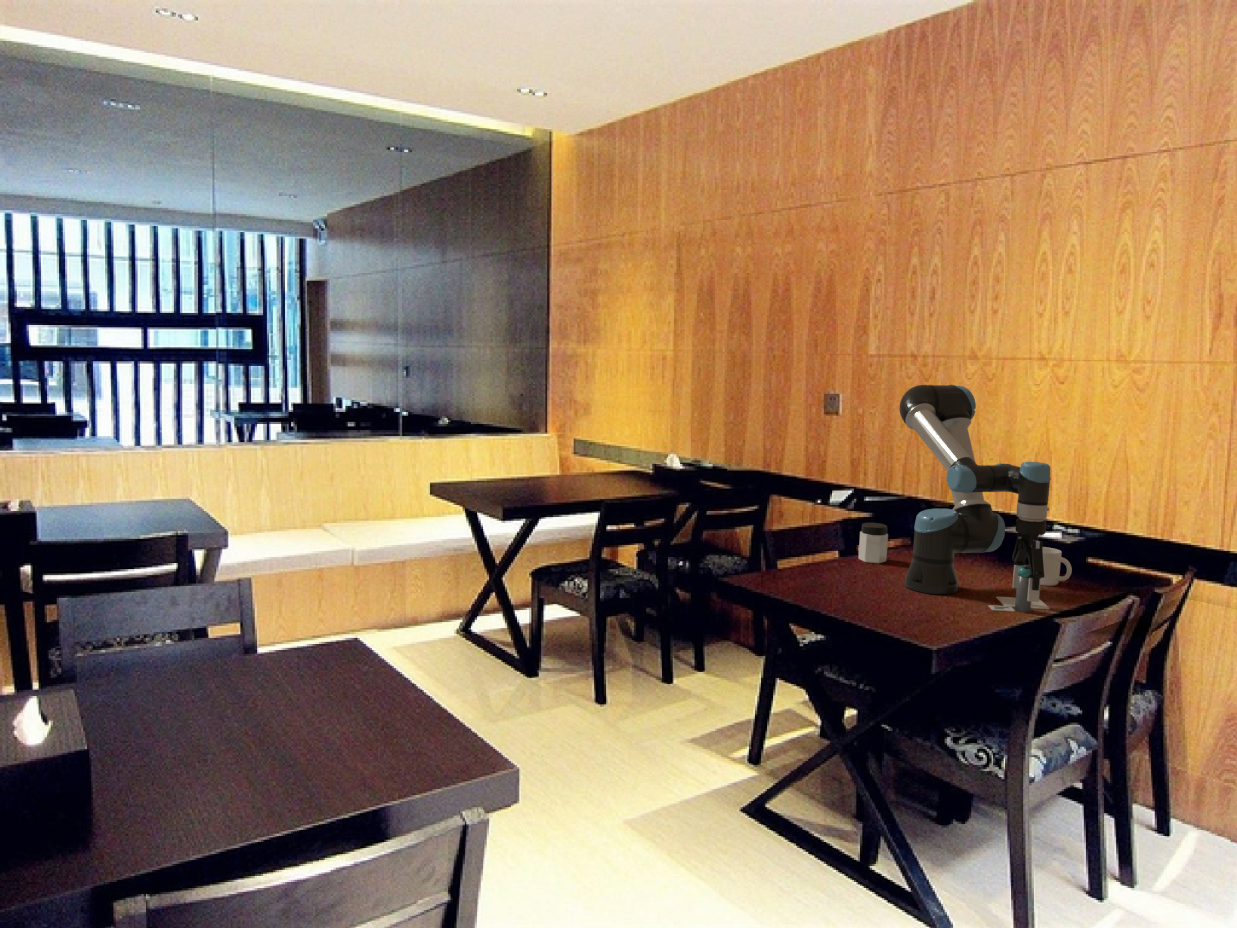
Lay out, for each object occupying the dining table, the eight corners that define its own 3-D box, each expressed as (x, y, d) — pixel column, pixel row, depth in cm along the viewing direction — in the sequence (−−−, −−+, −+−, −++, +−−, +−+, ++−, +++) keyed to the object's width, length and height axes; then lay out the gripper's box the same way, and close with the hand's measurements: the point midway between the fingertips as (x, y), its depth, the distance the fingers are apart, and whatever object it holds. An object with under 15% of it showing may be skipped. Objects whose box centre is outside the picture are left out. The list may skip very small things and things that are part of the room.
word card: (992, 610, 248) (992, 609, 248) (988, 606, 252) (988, 604, 252) (1015, 611, 247) (1015, 610, 247) (1010, 607, 251) (1011, 606, 251)
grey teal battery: (1017, 612, 247) (1021, 566, 245) (1012, 607, 251) (1016, 563, 250) (1032, 613, 247) (1037, 567, 245) (1027, 608, 251) (1032, 564, 249)
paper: (1004, 606, 252) (1004, 605, 252) (996, 597, 261) (996, 596, 261) (1049, 609, 251) (1050, 608, 250) (1039, 600, 259) (1039, 598, 259)
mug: (1075, 586, 275) (1078, 553, 274) (1063, 590, 270) (1066, 557, 269) (1036, 577, 284) (1039, 545, 283) (1024, 581, 279) (1027, 549, 278)
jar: (890, 563, 297) (892, 527, 295) (867, 564, 295) (870, 528, 294) (876, 556, 306) (879, 521, 304) (854, 557, 304) (857, 522, 302)
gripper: (1061, 528, 233) (1054, 608, 235) (1031, 511, 257) (1025, 583, 260) (1031, 527, 233) (1024, 606, 236) (1003, 510, 258) (998, 582, 261)
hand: (1025, 594), depth 248 cm, fingers open, 13 cm apart
